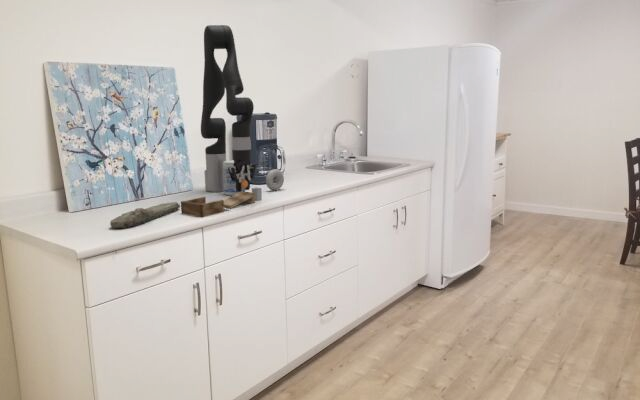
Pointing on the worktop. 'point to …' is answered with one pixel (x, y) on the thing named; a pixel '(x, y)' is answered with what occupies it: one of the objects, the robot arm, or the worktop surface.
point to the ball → (244, 183)
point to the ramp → (239, 199)
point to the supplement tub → (229, 179)
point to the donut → (278, 183)
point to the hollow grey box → (257, 193)
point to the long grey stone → (143, 215)
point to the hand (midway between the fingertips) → (243, 190)
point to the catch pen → (201, 207)
